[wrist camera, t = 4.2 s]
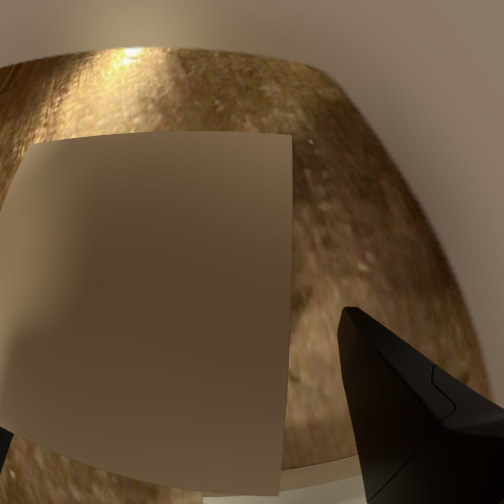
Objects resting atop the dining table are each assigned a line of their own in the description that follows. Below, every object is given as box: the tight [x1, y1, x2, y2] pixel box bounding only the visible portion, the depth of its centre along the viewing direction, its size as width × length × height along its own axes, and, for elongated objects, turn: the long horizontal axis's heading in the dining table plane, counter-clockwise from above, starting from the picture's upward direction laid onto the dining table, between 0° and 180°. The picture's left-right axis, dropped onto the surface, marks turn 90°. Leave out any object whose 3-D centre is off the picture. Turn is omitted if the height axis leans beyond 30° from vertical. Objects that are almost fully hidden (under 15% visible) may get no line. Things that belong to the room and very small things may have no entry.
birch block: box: [0, 131, 293, 496], centre depth 9 cm, size 4×4×13 cm
